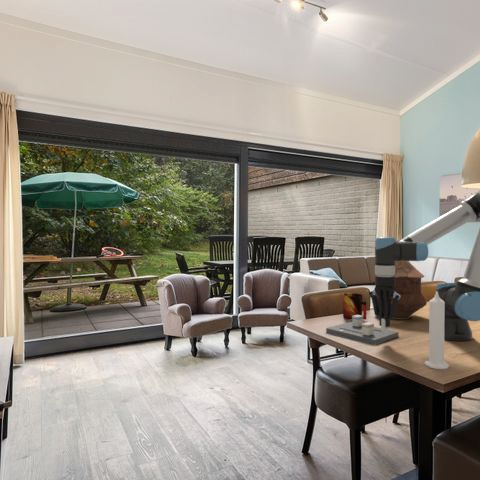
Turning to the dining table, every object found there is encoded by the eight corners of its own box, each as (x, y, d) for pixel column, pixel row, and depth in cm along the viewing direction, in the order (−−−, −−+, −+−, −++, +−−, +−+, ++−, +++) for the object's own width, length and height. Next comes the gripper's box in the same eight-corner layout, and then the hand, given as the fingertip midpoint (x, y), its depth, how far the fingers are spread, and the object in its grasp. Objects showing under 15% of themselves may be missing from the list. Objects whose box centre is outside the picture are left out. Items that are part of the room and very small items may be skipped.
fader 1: (363, 325, 172) (363, 315, 172) (357, 326, 169) (357, 317, 169) (357, 324, 174) (357, 314, 174) (352, 325, 172) (352, 315, 172)
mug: (365, 322, 188) (365, 298, 187) (339, 318, 197) (339, 295, 196) (373, 318, 195) (373, 295, 195) (348, 314, 204) (348, 292, 204)
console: (398, 336, 161) (398, 331, 161) (374, 344, 150) (374, 339, 150) (350, 326, 180) (350, 321, 180) (326, 332, 169) (326, 327, 169)
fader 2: (373, 333, 158) (373, 323, 158) (368, 335, 155) (368, 325, 155) (367, 332, 160) (367, 322, 160) (361, 334, 157) (361, 323, 157)
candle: (440, 361, 130) (441, 289, 130) (453, 369, 123) (453, 292, 123) (420, 362, 130) (421, 289, 130) (431, 369, 123) (432, 293, 122)
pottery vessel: (363, 316, 199) (363, 259, 198) (387, 309, 216) (387, 257, 215) (412, 325, 180) (412, 262, 179) (434, 317, 197) (434, 259, 196)
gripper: (405, 276, 148) (405, 336, 149) (375, 273, 158) (375, 329, 159) (395, 278, 144) (395, 339, 144) (365, 275, 154) (365, 332, 154)
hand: (384, 334), depth 152 cm, fingers closed
